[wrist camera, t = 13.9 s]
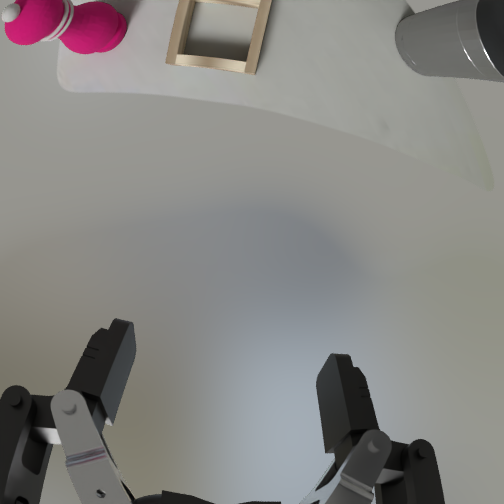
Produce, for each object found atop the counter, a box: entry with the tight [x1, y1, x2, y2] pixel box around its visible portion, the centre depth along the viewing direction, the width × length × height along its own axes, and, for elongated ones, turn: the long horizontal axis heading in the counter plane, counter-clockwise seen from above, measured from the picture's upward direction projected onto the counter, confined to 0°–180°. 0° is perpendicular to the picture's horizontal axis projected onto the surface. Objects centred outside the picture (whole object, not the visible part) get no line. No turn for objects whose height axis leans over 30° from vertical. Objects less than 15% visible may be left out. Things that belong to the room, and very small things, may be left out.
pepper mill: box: [2, 0, 127, 54], centre depth 18 cm, size 7×7×20 cm
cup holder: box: [165, 0, 272, 75], centre depth 27 cm, size 10×10×3 cm
